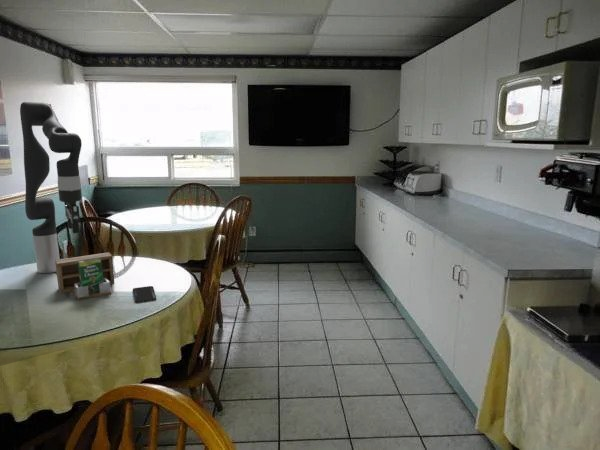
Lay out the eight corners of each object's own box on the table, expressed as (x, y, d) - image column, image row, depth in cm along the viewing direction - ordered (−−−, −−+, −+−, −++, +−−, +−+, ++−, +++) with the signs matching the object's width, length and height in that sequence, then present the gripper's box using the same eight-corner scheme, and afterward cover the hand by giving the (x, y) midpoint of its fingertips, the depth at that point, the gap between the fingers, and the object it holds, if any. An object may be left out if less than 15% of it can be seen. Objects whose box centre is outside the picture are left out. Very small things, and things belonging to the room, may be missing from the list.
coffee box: (82, 295, 165) (78, 262, 162) (80, 293, 167) (77, 261, 164) (104, 291, 170) (101, 259, 167) (102, 289, 172) (99, 257, 169)
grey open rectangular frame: (74, 293, 167) (73, 283, 167) (106, 287, 174) (106, 277, 173) (77, 298, 162) (76, 288, 162) (110, 291, 169) (109, 282, 168)
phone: (152, 285, 176) (156, 298, 163) (153, 288, 176) (156, 301, 163) (132, 288, 173) (134, 301, 160) (132, 290, 173) (134, 304, 160)
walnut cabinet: (58, 288, 175) (55, 260, 172) (111, 279, 186) (108, 252, 184) (65, 302, 160) (62, 271, 157) (122, 291, 171) (119, 262, 169)
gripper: (55, 186, 163) (59, 228, 167) (61, 191, 152) (66, 235, 156) (77, 185, 168) (80, 225, 171) (84, 189, 157) (88, 233, 160)
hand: (74, 230), depth 164 cm, fingers open, 8 cm apart
